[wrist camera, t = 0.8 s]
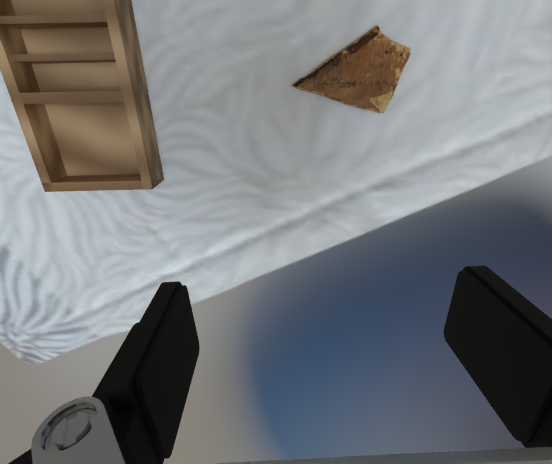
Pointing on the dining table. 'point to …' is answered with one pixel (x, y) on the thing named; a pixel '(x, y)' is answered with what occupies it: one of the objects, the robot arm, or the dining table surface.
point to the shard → (361, 72)
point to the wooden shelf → (80, 93)
